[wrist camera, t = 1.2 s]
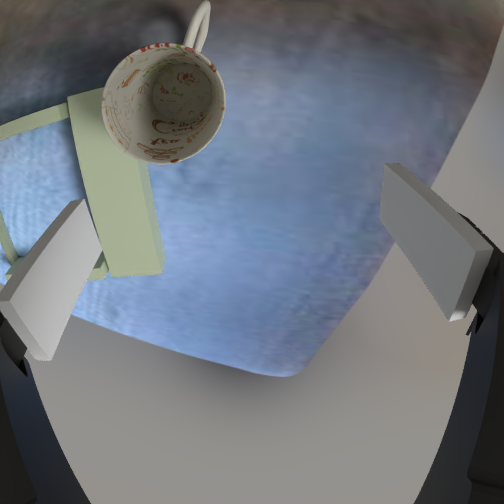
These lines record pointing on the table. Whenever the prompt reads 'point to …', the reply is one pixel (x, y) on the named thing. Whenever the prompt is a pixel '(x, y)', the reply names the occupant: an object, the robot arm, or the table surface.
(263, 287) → the table surface
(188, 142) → the mug
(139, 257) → the pale green rectangular frame
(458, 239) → the robot arm
